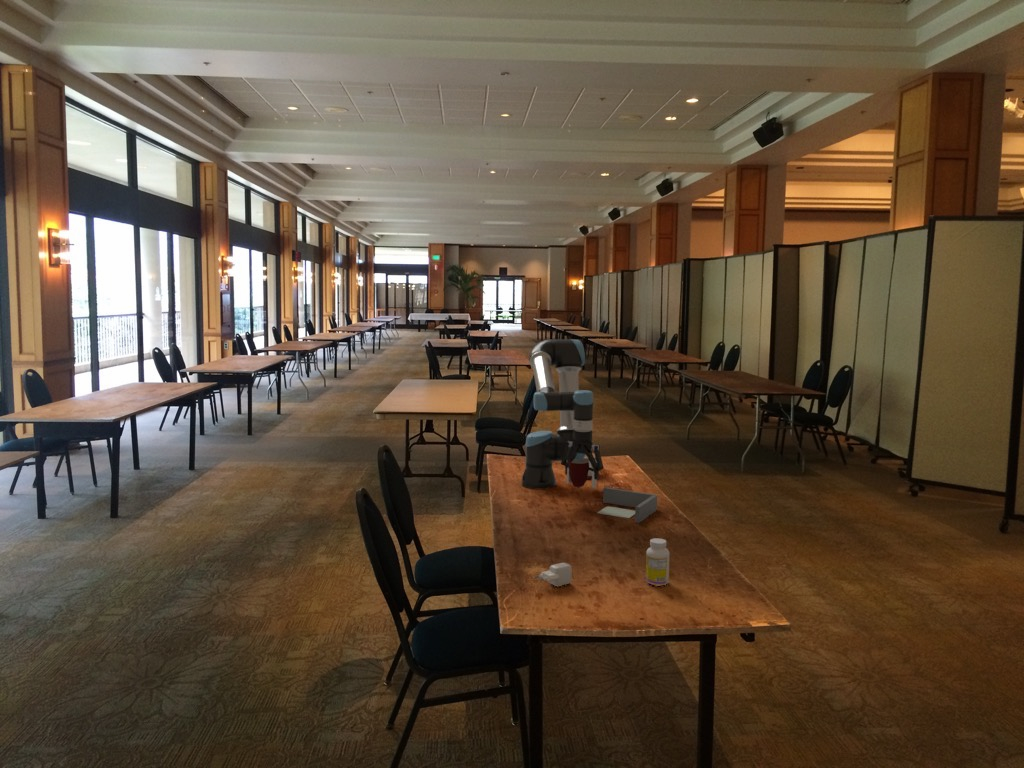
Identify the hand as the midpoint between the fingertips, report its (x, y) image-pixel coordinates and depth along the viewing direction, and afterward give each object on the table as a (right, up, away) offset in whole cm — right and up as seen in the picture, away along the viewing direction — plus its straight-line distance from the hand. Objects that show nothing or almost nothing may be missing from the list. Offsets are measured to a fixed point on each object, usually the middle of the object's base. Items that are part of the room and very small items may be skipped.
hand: (581, 484), depth 301 cm
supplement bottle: (+15, -19, -78) cm, 82 cm away
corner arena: (+15, -9, -7) cm, 19 cm away
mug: (0, -1, 0) cm, 1 cm away
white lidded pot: (+7, -2, +52) cm, 52 cm away
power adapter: (-16, -19, -81) cm, 85 cm away
